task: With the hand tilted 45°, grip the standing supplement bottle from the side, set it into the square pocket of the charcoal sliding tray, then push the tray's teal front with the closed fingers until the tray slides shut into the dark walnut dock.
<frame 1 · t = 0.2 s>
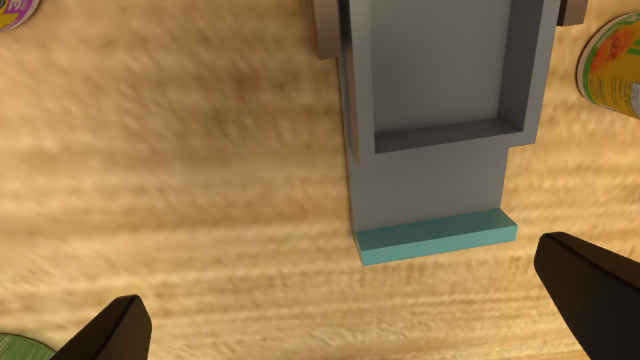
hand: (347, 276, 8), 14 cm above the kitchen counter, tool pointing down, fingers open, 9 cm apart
tray: (436, 123, 20), point 2 cm above the kitchen counter, slide at 8.0 cm
supplement bottle: (614, 59, 22), on the kitchen counter
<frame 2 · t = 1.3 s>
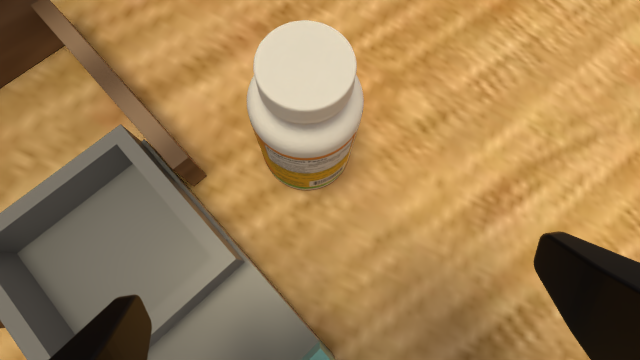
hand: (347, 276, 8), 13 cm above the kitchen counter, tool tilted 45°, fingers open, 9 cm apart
tray: (153, 307, 19), point 2 cm above the kitchen counter, slide at 8.0 cm
dock: (55, 162, 22), on the kitchen counter
supplement bottle: (306, 151, 23), on the kitchen counter
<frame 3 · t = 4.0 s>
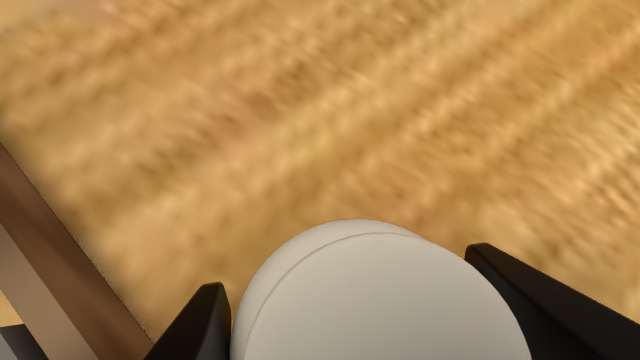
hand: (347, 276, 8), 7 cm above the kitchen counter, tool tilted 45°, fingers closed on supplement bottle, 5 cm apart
supplement bottle: (336, 315, 14), on the kitchen counter, touching gripper
when the fingers open (9 cm above the kitchen counter, at t = 7.5 s): supplement bottle drops 1 cm, resting on tray.
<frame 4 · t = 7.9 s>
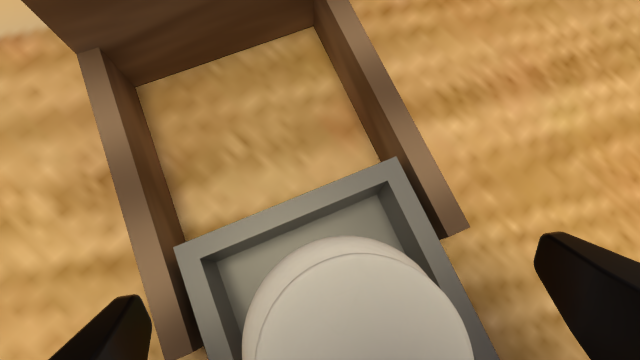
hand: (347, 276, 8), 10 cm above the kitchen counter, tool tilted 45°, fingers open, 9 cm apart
dock: (270, 160, 19), on the kitchen counter
supplement bottle: (332, 315, 16), point 1 cm above the kitchen counter, touching tray
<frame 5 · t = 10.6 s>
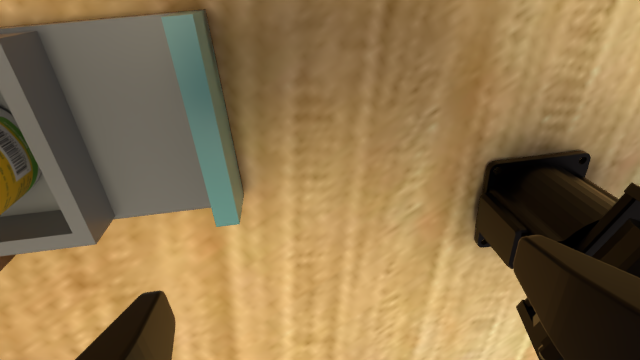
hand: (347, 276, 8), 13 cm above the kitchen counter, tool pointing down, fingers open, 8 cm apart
tray: (45, 144, 17), point 2 cm above the kitchen counter, slide at 8.0 cm, touching supplement bottle
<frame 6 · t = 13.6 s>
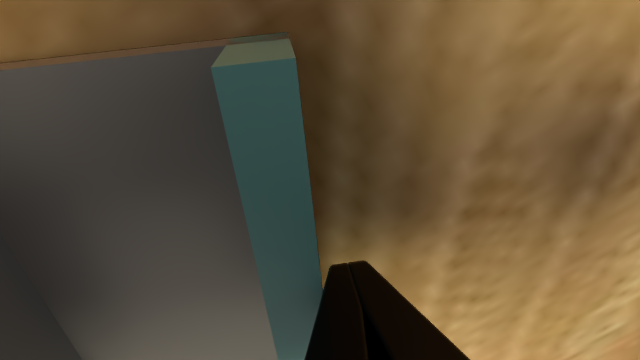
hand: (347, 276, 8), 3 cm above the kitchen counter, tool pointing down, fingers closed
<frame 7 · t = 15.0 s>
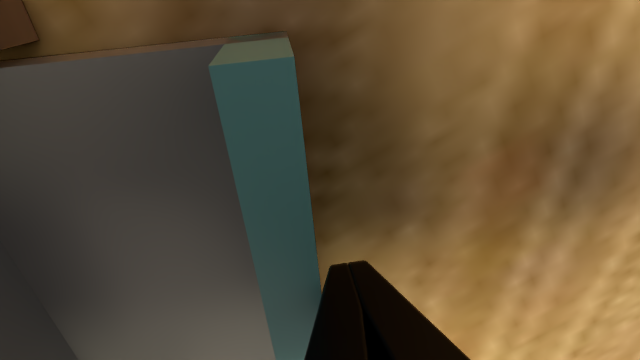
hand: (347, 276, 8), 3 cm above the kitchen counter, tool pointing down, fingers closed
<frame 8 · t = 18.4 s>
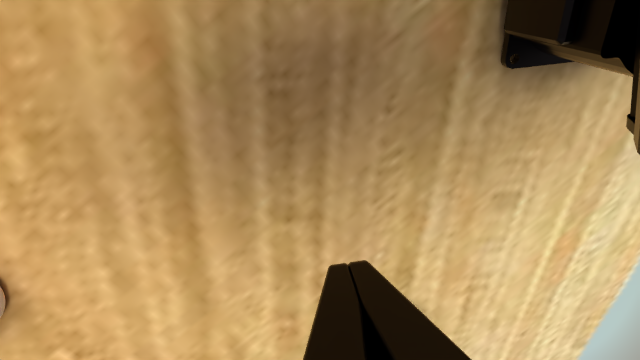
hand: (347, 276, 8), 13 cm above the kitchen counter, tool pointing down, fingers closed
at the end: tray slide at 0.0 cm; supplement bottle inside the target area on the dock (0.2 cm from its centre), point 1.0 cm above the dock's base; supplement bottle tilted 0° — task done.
